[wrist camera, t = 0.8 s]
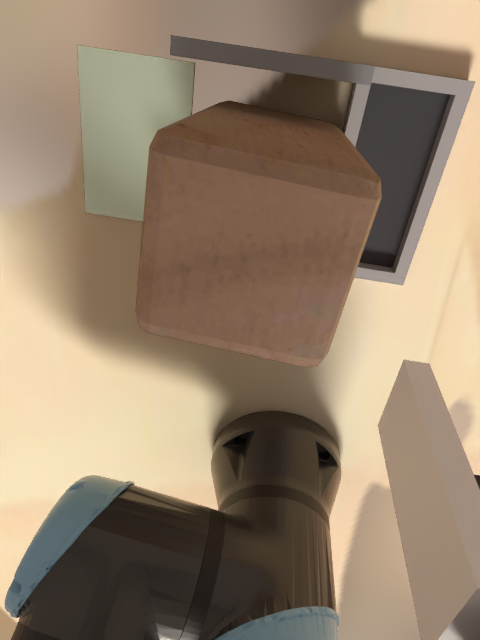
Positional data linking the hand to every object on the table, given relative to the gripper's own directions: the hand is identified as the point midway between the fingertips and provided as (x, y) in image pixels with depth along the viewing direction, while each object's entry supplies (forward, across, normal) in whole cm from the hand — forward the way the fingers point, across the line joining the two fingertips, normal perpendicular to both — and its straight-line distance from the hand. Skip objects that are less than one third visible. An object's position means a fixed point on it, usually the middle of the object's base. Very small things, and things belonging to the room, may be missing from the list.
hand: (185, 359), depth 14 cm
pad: (+27, +10, 0) cm, 29 cm away
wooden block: (+27, -1, +1) cm, 27 cm away
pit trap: (+27, -10, 0) cm, 29 cm away
